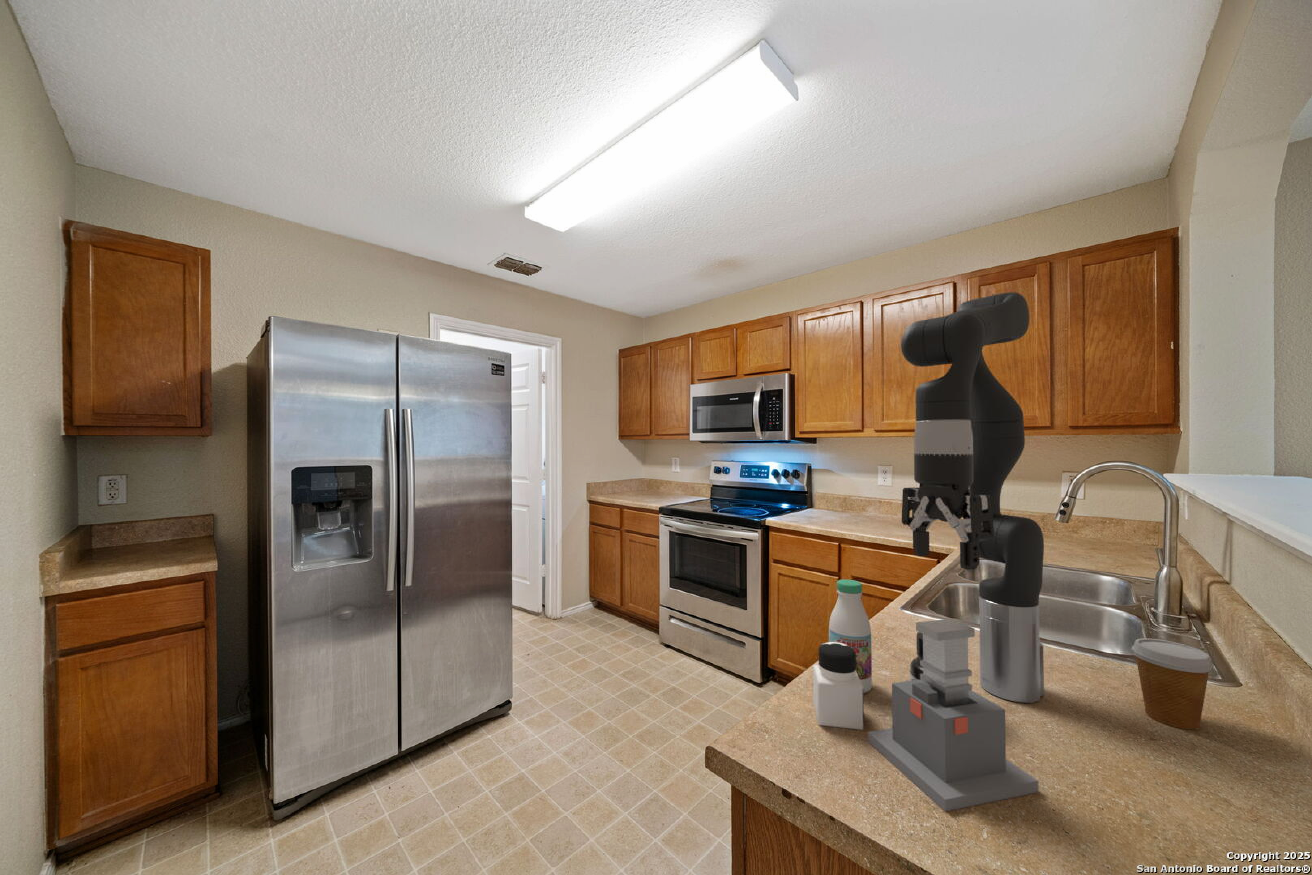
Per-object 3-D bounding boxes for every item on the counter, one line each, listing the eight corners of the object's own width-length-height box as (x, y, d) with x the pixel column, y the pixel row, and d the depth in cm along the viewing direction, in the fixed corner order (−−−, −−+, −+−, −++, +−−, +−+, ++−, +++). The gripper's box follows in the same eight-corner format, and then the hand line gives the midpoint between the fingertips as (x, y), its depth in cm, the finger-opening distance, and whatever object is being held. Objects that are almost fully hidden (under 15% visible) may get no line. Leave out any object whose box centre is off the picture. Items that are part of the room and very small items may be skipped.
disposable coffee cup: (1193, 711, 85) (1192, 642, 85) (1229, 741, 76) (1227, 664, 76) (1122, 699, 89) (1121, 633, 89) (1148, 727, 80) (1147, 654, 80)
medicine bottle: (864, 730, 79) (863, 656, 79) (818, 725, 80) (818, 653, 80) (855, 707, 86) (854, 639, 86) (813, 703, 87) (812, 636, 87)
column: (951, 738, 73) (950, 618, 74) (977, 757, 69) (976, 629, 69) (915, 744, 72) (914, 621, 72) (940, 764, 67) (939, 633, 68)
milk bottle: (822, 676, 98) (821, 576, 98) (859, 674, 98) (858, 576, 99) (840, 696, 90) (839, 588, 90) (879, 694, 90) (879, 587, 91)
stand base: (947, 728, 79) (946, 658, 80) (1038, 791, 65) (1037, 705, 65) (867, 741, 76) (867, 667, 76) (945, 811, 61) (944, 720, 62)
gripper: (1008, 452, 65) (1009, 572, 65) (926, 451, 79) (927, 550, 79) (962, 452, 64) (963, 575, 63) (887, 451, 77) (888, 552, 77)
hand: (943, 561), depth 71 cm, fingers open, 8 cm apart
